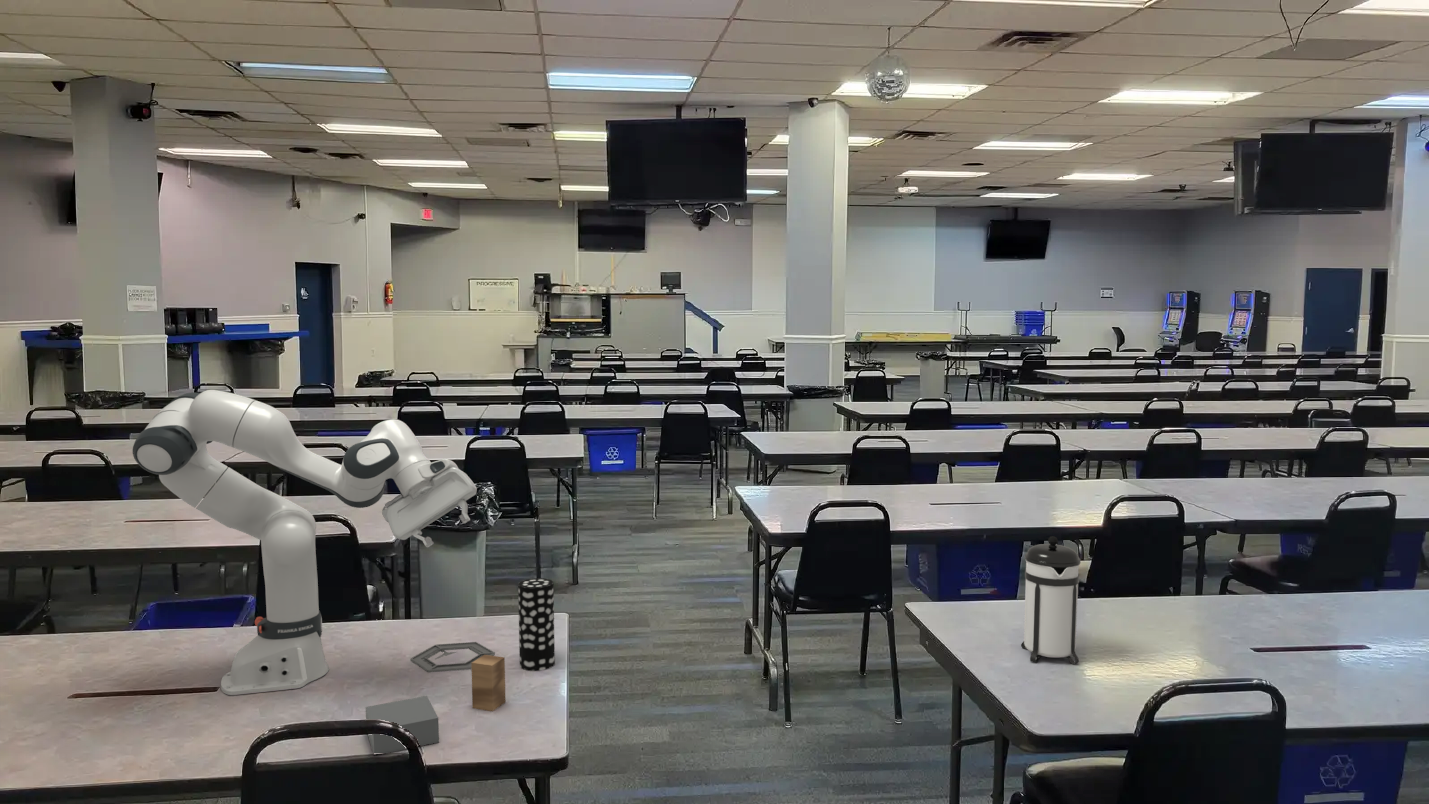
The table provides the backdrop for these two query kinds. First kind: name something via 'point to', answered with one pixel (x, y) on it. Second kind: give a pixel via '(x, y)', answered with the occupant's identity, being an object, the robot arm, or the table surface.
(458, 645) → the grey hexagonal ring
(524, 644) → the spotted tube
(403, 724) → the block
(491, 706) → the oak block
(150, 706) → the table surface
